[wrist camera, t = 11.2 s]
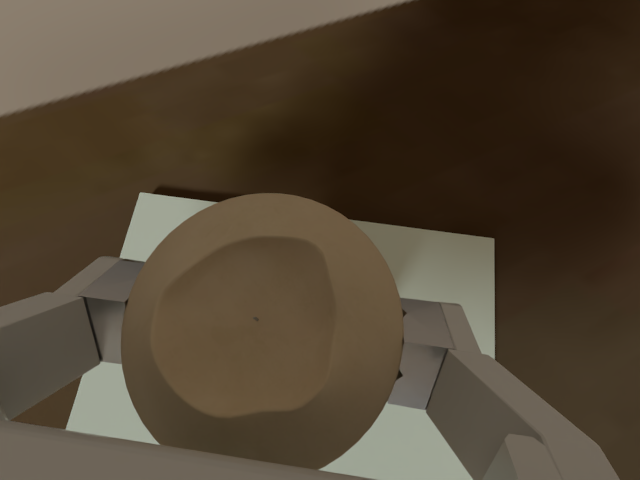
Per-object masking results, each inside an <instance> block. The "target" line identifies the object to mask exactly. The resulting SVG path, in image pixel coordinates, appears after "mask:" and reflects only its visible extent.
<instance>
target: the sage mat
mask: <svg viewBox="0 0 640 480" xmlns="http://www.w3.org/2000/svg"><path fill="white" fill-rule="evenodd" d="M216 203H218V202H210V201H202V200H195V199H187V198H179V197H172V196H164V195H156V194H149V193H141V192H140V194H139V198H138V201H137V204H136V207H135V210H134V213H133V217H132V220H131V223H130V226H129V229H128V233H127V236H126V239H125V242H124V245H123V249H122V252H121V255H120V258H123V259H130V260H137V261H143V262H146V260H147V259H148V258H149V256H150V255H151V254H152V252H153V251H154V250H155V248H156V247H157V246H158V245H159V244H160V243H161V242H162V241H163V239H164V238H165V237H166V236H167V235H168V234H169V233H170V232H171V231H173V230H174V229H175V228H176V227H177V226H179V225H180V224H181V223H182V222H183V221H185V220H187V219H188V218H190V217H191V216H193V215H194V214H196V213H197V212H199V211H201V210H203V209H205V208H207V207H209V206H211V205H213V204H216ZM350 221H352V222H353V223H354V224H355V225H356V226H357V227H359V228H360V229H361V230H362V231H363V232H364V233H365V234H366V235H367V236H368V237H369V239H370V240H371V241H372V242H373V243H374V245H375V246H376V247H377V248H378V250H379V252H380V253H381V255H382V256H383V258H384V259H385V261H386V263H387V265H388V267H389V269H390V271H391V273H392V275H393V278H394V280H395V283H396V286H397V290H398V293H399V296H400V297H401V298H409V299H417V300H425V301H433V302H447V303H457V304H460V305H461V306H462V308H463V310H464V312H465V315H466V317H467V320H468V322H469V324H470V327H471V329H472V332H473V334H474V336H475V339H476V341H477V344H478V346H479V349H480V351H481V353H482V354H486V355H489V356H491V357H492V358H493V359H494V360H495V274H494V238H487V237H479V236H471V235H464V234H456V233H448V232H441V231H433V230H425V229H418V228H410V227H402V226H395V225H387V224H379V223H372V222H364V221H356V220H350ZM66 430H70V431H77V432H83V433H89V434H95V435H102V436H108V437H114V438H120V439H127V440H133V441H139V442H145V443H152V444H158V445H160V444H159V443H158V442H157V441H156V440H155V439H154V438H153V436H152V435H151V434H150V432H149V431H148V430H147V428H146V427H145V426H144V424H143V423H142V421H141V419H140V417H139V415H138V414H137V412H136V410H135V408H134V406H133V404H132V401H131V398H130V396H129V393H128V390H127V387H126V383H125V379H124V374H123V370H122V364H116V363H108V362H101V363H100V364H99V365H98V366H96V367H94V368H93V369H91V370H90V371H88V372H86V373H85V374H83V376H82V379H81V383H80V386H79V389H78V392H77V395H76V398H75V402H74V405H73V408H72V411H71V414H70V418H69V421H68V424H67V427H66ZM319 470H321V471H327V472H334V473H340V474H346V475H352V476H359V477H365V478H371V479H378V480H473V479H472V477H471V476H470V475H469V473H468V472H467V470H466V469H465V467H464V466H463V465H462V463H461V462H460V460H459V459H458V457H457V456H456V455H455V453H454V452H453V450H452V449H451V447H450V446H449V445H448V443H447V442H446V440H445V439H444V438H443V436H442V435H441V433H440V432H439V430H438V429H437V428H436V426H435V425H434V423H433V422H432V420H431V419H430V418H429V416H428V415H427V413H426V410H421V409H416V408H410V407H404V406H399V405H393V404H388V402H386V404H385V406H384V408H383V410H382V412H381V413H380V415H379V416H378V418H377V419H376V421H375V422H374V424H373V425H372V426H371V428H370V429H369V430H368V431H367V432H366V433H365V434H364V436H363V437H362V438H361V439H360V440H359V441H358V442H357V443H356V444H355V445H354V446H353V447H351V448H350V449H349V450H348V451H347V452H346V453H344V454H343V455H342V456H341V457H339V458H338V459H336V460H334V461H333V462H331V463H330V464H328V465H327V466H325V467H323V468H321V469H319Z"/></svg>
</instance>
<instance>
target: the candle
mask: <svg viewBox="0 0 640 480" xmlns="http://www.w3.org/2000/svg"><path fill="white" fill-rule="evenodd" d="M403 338H404V324H403V312H402V306H401V301H400V296H399V293H398V290H397V286H396V283H395V280H394V278H393V275H392V273H391V271H390V269H389V267H388V265H387V263H386V261H385V259H384V258H383V256H382V255H381V253H380V252H379V250H378V248H377V247H376V246H375V245H374V243H373V242H372V241H371V240H370V239H369V237H368V236H367V235H366V234H365V233H364V232H363V231H362V230H361V229H360V228H359V227H357V226H356V225H355V224H354V223H353V222H352V221H350V220H349V219H347V218H346V217H345V216H343V215H342V214H341V213H339V212H337V211H335V210H333V209H331V208H330V207H328V206H326V205H323V204H321V203H318V202H316V201H313V200H311V199H307V198H303V197H299V196H295V195H288V194H281V193H258V194H249V195H243V196H239V197H234V198H230V199H227V200H224V201H221V202H219V203H216V204H213V205H211V206H209V207H207V208H205V209H203V210H201V211H199V212H197V213H196V214H194V215H193V216H191V217H190V218H188V219H187V220H185V221H183V222H182V223H181V224H180V225H179V226H177V227H176V228H175V229H174V230H173V231H171V232H170V233H169V234H168V235H167V236H166V237H165V238H164V239H163V241H162V242H161V243H160V244H159V245H158V246H157V247H156V248H155V250H154V251H153V252H152V254H151V255H150V256H149V258H148V259H147V260H146V262H145V264H144V266H143V267H142V269H141V271H140V272H139V274H138V276H137V278H136V280H135V283H134V285H133V287H132V289H131V292H130V295H129V298H128V301H127V305H126V308H125V311H124V317H123V323H122V329H121V360H122V370H123V374H124V379H125V383H126V387H127V390H128V393H129V396H130V398H131V401H132V404H133V406H134V408H135V410H136V412H137V414H138V415H139V417H140V419H141V421H142V423H143V424H144V426H145V427H146V428H147V430H148V431H149V432H150V434H151V435H152V436H153V438H154V439H155V440H156V441H157V442H158V443H159V444H160V445H164V446H170V447H177V448H183V449H189V450H195V451H201V452H208V453H214V454H220V455H226V456H233V457H239V458H245V459H251V460H258V461H264V462H270V463H277V464H283V465H289V466H296V467H302V468H308V469H315V470H319V469H321V468H323V467H325V466H327V465H328V464H330V463H331V462H333V461H334V460H336V459H338V458H339V457H341V456H342V455H343V454H344V453H346V452H347V451H348V450H349V449H350V448H351V447H353V446H354V445H355V444H356V443H357V442H358V441H359V440H360V439H361V438H362V437H363V436H364V434H365V433H366V432H367V431H368V430H369V429H370V428H371V426H372V425H373V424H374V422H375V421H376V419H377V418H378V416H379V415H380V413H381V412H382V410H383V408H384V406H385V404H386V402H387V400H388V398H389V396H390V394H391V392H392V390H393V387H394V384H395V381H396V378H397V375H398V372H399V368H400V363H401V358H402V353H403Z"/></svg>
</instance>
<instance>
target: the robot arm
mask: <svg viewBox="0 0 640 480" xmlns="http://www.w3.org/2000/svg"><path fill="white" fill-rule="evenodd" d="M144 264H145V262H143V261H137V260H130V259H123V258H117V257H109V256H104V257H99V258H98V259H97V260H95V261H94V262H93V263H91V264H90V265H89V266H87V267H86V268H85V269H84V270H82V271H81V272H80V273H78V274H77V275H76V276H74V277H73V278H72V279H70V280H69V281H68V282H67V283H65V284H64V285H63V286H61V287H60V288H59V289H57V290H56V291H55V292H54V293H49V292H45V293H42V294H39V295H36V296H33V297H30V298H27V299H24V300H20V301H17V302H14V303H11V304H8V305H5V306H2V307H0V480H378V479H371V478H365V477H359V476H352V475H346V474H340V473H334V472H327V471H321V470H315V469H308V468H302V467H296V466H289V465H283V464H277V463H270V462H264V461H258V460H251V459H245V458H239V457H233V456H226V455H220V454H214V453H208V452H201V451H195V450H189V449H183V448H177V447H170V446H164V445H158V444H152V443H145V442H139V441H133V440H127V439H120V438H114V437H108V436H102V435H95V434H89V433H83V432H77V431H70V430H64V429H58V428H51V427H45V426H39V425H33V424H26V423H20V422H14V421H10V420H11V419H13V418H14V417H16V416H18V415H19V414H21V413H22V412H24V411H26V410H27V409H29V408H30V407H32V406H34V405H35V404H37V403H38V402H40V401H42V400H43V399H45V398H46V397H48V396H50V395H51V394H53V393H54V392H56V391H58V390H59V389H61V388H62V387H64V386H66V385H67V384H69V383H70V382H72V381H74V380H75V379H77V378H78V377H80V376H82V375H83V374H85V373H86V372H88V371H90V370H91V369H93V368H94V367H96V366H98V365H99V364H100V363H101V362H108V363H116V364H122V360H121V329H122V323H123V317H124V311H125V308H126V305H127V301H128V298H129V295H130V292H131V289H132V287H133V285H134V283H135V280H136V278H137V276H138V274H139V272H140V271H141V269H142V267H143V266H144ZM400 301H401V306H402V312H403V324H404V338H403V353H402V358H401V363H400V368H399V372H398V375H397V378H396V381H395V384H394V387H393V390H392V392H391V394H390V396H389V398H388V400H387V402H388V404H393V405H399V406H404V407H410V408H416V409H421V410H426V413H427V415H428V416H429V418H430V419H431V420H432V422H433V423H434V425H435V426H436V428H437V429H438V430H439V432H440V433H441V435H442V436H443V438H444V439H445V440H446V442H447V443H448V445H449V446H450V447H451V449H452V450H453V452H454V453H455V455H456V456H457V457H458V459H459V460H460V462H461V463H462V465H463V466H464V467H465V469H466V470H467V472H468V473H469V475H470V476H471V477H472V479H473V480H620V479H619V478H618V476H617V474H616V473H615V471H614V470H613V468H612V466H611V465H610V463H609V461H608V460H607V458H606V456H605V455H604V453H603V451H602V450H601V448H600V447H599V445H598V444H596V443H595V442H594V441H593V440H592V439H590V438H589V437H588V436H587V435H585V434H584V433H583V432H582V431H581V430H579V429H578V428H577V427H576V426H574V425H573V424H572V423H571V422H570V421H568V420H567V419H566V418H565V417H564V416H562V415H561V414H560V413H559V412H557V411H556V410H555V409H554V408H553V407H551V406H550V405H549V404H548V403H547V402H545V401H544V400H543V399H542V398H540V397H539V396H538V395H537V394H536V393H534V392H533V391H532V390H531V389H529V388H528V387H527V386H526V385H525V384H523V383H522V382H521V381H520V380H519V379H517V378H516V377H515V376H514V375H512V374H511V373H510V372H509V371H508V370H506V369H505V368H504V367H503V366H502V365H500V364H499V363H498V362H497V361H495V360H494V359H493V358H492V357H491V356H489V355H486V354H482V353H481V351H480V349H479V346H478V344H477V341H476V339H475V336H474V334H473V332H472V329H471V327H470V324H469V322H468V320H467V317H466V315H465V312H464V310H463V308H462V306H461V305H460V304H457V303H447V302H433V301H425V300H417V299H409V298H401V297H400Z"/></svg>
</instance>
